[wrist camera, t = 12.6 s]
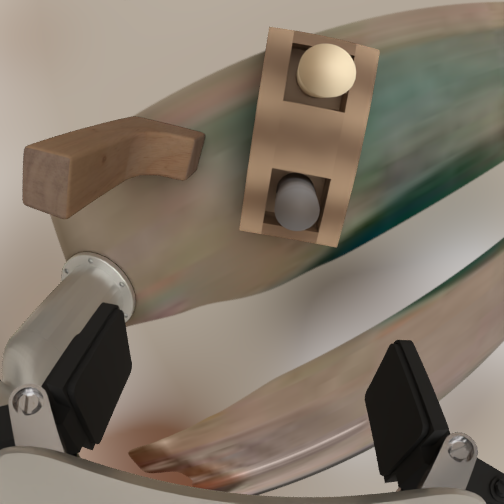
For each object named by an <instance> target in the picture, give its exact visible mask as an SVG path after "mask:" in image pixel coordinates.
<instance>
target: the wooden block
mask: <svg viewBox="0 0 504 504" xmlns="http://www.w3.org/2000/svg"><path fill="white" fill-rule="evenodd" d="M204 140H205V134H204V133H202V132H198V131H194V130H190V129H186V128H183V127H179V126H175V125H171V124H166V123H162V122H158V121H154V120H149V119H145V118H140V117H136V116H133V117H128V118H123V119H118V120H114V121H110V122H106V123H102V124H98V125H94V126H90V127H87V128H83V129H80V130H76V131H72V132H69V133H65V134H62V135H59V136H55V137H52V138H49V139H46V140H43V141H40V142H37V143H34V144H31V145H28V146H26V147H25V149H24V158H23V203H24V204H25V205H26V206H29V207H32V208H34V209H37V210H40V211H42V212H45V213H48V214H51V215H53V216H56V217H59V218H62V219H68V218H70V217H71V216H72V215H74V214H75V213H77V212H78V211H80V210H81V209H82V208H84V207H85V206H87V205H88V204H90V203H91V202H93V201H94V200H96V199H97V198H99V197H100V196H102V195H103V194H105V193H106V192H108V191H109V190H111V189H113V188H114V187H116V186H117V185H119V184H120V183H122V182H124V181H125V180H127V179H129V178H133V177H136V176H139V175H159V176H164V177H168V178H173V179H177V180H182V181H183V180H186V179H187V178H188V177H189V176H191V175H192V174H193V173H194V172H195V171H196V170H197V166H198V162H199V159H200V155H201V151H202V147H203V143H204Z"/></svg>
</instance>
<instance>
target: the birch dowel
mask: <svg viewBox="0 0 504 504" xmlns="http://www.w3.org/2000/svg"><path fill="white" fill-rule="evenodd" d="M355 78H356V67H355V64H354V61H353V59H352V58H351V56H350V55H349V54H348V53H347V52H346V51H345V50H344V49H342V48H340V47H339V46H336V45H333V44H318V45H315V46H313V47H311V48H309V49H308V50H307V51H306V52H305V53H304V54H303V55H302V57H301V59H300V62H299V66H298V70H297V74H296V82H297V85H298V87H299V89H300V90H301V91H302V92H303V93H304V94H305V95H307V96H309V97H312V98H329V97H337V96H340V95H342V94H344V93H346V92H347V91H348V90H349V89H350V88H351V87H352V85H353V84H354V81H355Z"/></svg>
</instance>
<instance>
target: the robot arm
mask: <svg viewBox="0 0 504 504" xmlns="http://www.w3.org/2000/svg"><path fill="white" fill-rule="evenodd" d="M61 276H62V282H61V283H60V284H59V285H58V286H57V287H56V288H55V289H54V290H53V291H52V292H51V293H50V294H49V296H48V297H47V298H46V299H45V300H44V301H43V302H42V303H41V304H40V305H39V306H38V308H36V310H35V311H34V312H33V313H32V314H31V315H30V316H29V317H28V318H27V320H26V321H25V322H24V323H23V324H22V325H21V327H20V328H19V329H18V330H17V331H16V332H15V333H14V334H13V336H12V337H11V338H10V339H9V341H8V343H7V345H6V347H5V350H4V353H3V360H2V381H1V380H0V504H504V473H502V472H500V471H498V470H497V469H495V468H493V467H492V466H490V465H488V464H486V463H485V462H483V461H482V460H480V459H478V458H477V455H478V450H477V446H476V444H475V442H474V440H473V439H472V438H471V437H470V436H468V435H466V434H464V433H459V432H455V433H452V434H450V432H449V428H448V425H447V422H446V420H445V417H444V415H443V412H442V409H441V407H440V404H439V402H438V399H437V397H436V394H435V392H434V389H433V387H432V385H431V382H430V380H429V378H428V375H427V373H426V371H425V368H424V366H423V364H422V361H421V359H420V357H419V355H418V353H417V350H416V348H415V346H414V344H413V342H412V341H410V340H396V341H395V342H394V344H390V346H389V348H388V350H387V352H386V354H385V356H384V358H383V360H382V362H381V364H380V366H379V368H378V370H377V372H376V374H375V376H374V378H373V380H372V382H371V384H370V386H369V388H368V389H367V391H366V394H365V403H366V408H367V412H368V417H369V421H370V426H371V431H372V436H373V441H374V446H375V450H376V456H377V461H378V467H379V472H380V474H381V475H382V476H384V480H385V483H387V482H395V481H398V486H399V488H398V489H397V491H396V492H390V493H381V494H369V495H358V496H343V497H273V496H259V495H247V494H237V493H228V492H221V491H213V490H207V489H200V488H194V487H189V486H183V485H178V484H173V483H168V482H164V481H159V480H155V479H151V478H147V477H143V476H139V475H135V474H131V473H128V472H124V471H121V470H117V469H113V468H110V467H107V466H104V465H101V464H97V463H94V462H91V461H88V460H86V459H82V458H80V456H79V454H78V453H79V452H80V450H81V448H82V447H85V448H87V449H90V450H93V448H94V445H95V444H99V443H100V442H101V440H102V437H103V435H104V432H105V430H106V428H107V425H108V423H109V421H110V418H111V416H112V414H113V411H114V409H115V407H116V404H117V402H118V400H119V397H120V395H121V393H122V390H123V388H124V386H125V384H126V382H127V380H128V377H129V375H130V373H131V369H132V362H131V357H130V351H129V345H128V338H127V332H126V325H125V323H126V322H127V321H128V320H129V319H130V317H131V315H132V314H133V312H134V309H135V303H136V301H135V294H134V290H133V287H132V285H131V283H130V281H129V280H128V278H127V277H126V275H125V274H124V273H123V271H122V270H121V269H120V268H119V267H118V266H117V265H116V264H114V263H113V262H112V261H110V260H109V259H107V258H106V257H103V256H101V255H99V254H96V253H92V252H82V253H78V254H76V255H73V256H72V257H71V258H70V259H69V260H68V261H67V262H66V263H65V265H64V267H63V269H62V275H61Z"/></svg>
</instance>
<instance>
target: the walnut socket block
mask: <svg viewBox="0 0 504 504" xmlns="http://www.w3.org/2000/svg"><path fill="white" fill-rule="evenodd" d="M318 44H333V45H336V46H339V47H340V48H342V49H344V50H345V51H346V52H347V53H348V54H349V55H350V56H351V58H352V59H353V61H354V64H355V67H356V78H355V81H354V84H353V85H352V87H351V88H350V89H349V90H348V91H347V92H346V93H344V94H342V95H340V96H337V97H329V98H312V97H309V96H307V95H305V94H304V93H303V92H302V91H301V90H300V89H299V87H298V85H297V82H296V74H297V70H298V66H299V62H300V59H301V57H302V55H303V54H304V53H305V52H306V51H307V50H308V49H309V48H311V47H313V46H315V45H318ZM379 53H380V50H377V49H373V48H370V47H366V46H363V45H359V44H355V43H351V42H347V41H343V40H339V39H335V38H330V37H325V36H321V35H316V34H310V33H305V32H299V31H292V30H287V29H280V28H273V27H269V33H268V39H267V45H266V51H265V58H264V64H263V70H262V77H261V83H260V90H259V96H258V103H257V110H256V116H255V123H254V130H253V137H252V144H251V150H250V157H249V164H248V171H247V178H246V185H245V193H244V200H243V207H242V214H241V221H240V229H239V230H241V231H247V232H253V233H259V234H264V235H270V236H276V237H282V238H287V239H293V240H299V241H304V242H310V243H316V244H321V245H327V246H332V247H337V245H338V241H339V237H340V234H341V230H342V226H343V223H344V219H345V215H346V211H347V207H348V204H349V200H350V196H351V192H352V188H353V183H354V179H355V175H356V171H357V167H358V162H359V158H360V153H361V149H362V144H363V140H364V135H365V130H366V125H367V120H368V115H369V110H370V105H371V100H372V94H373V89H374V83H375V77H376V71H377V65H378V59H379Z"/></svg>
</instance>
